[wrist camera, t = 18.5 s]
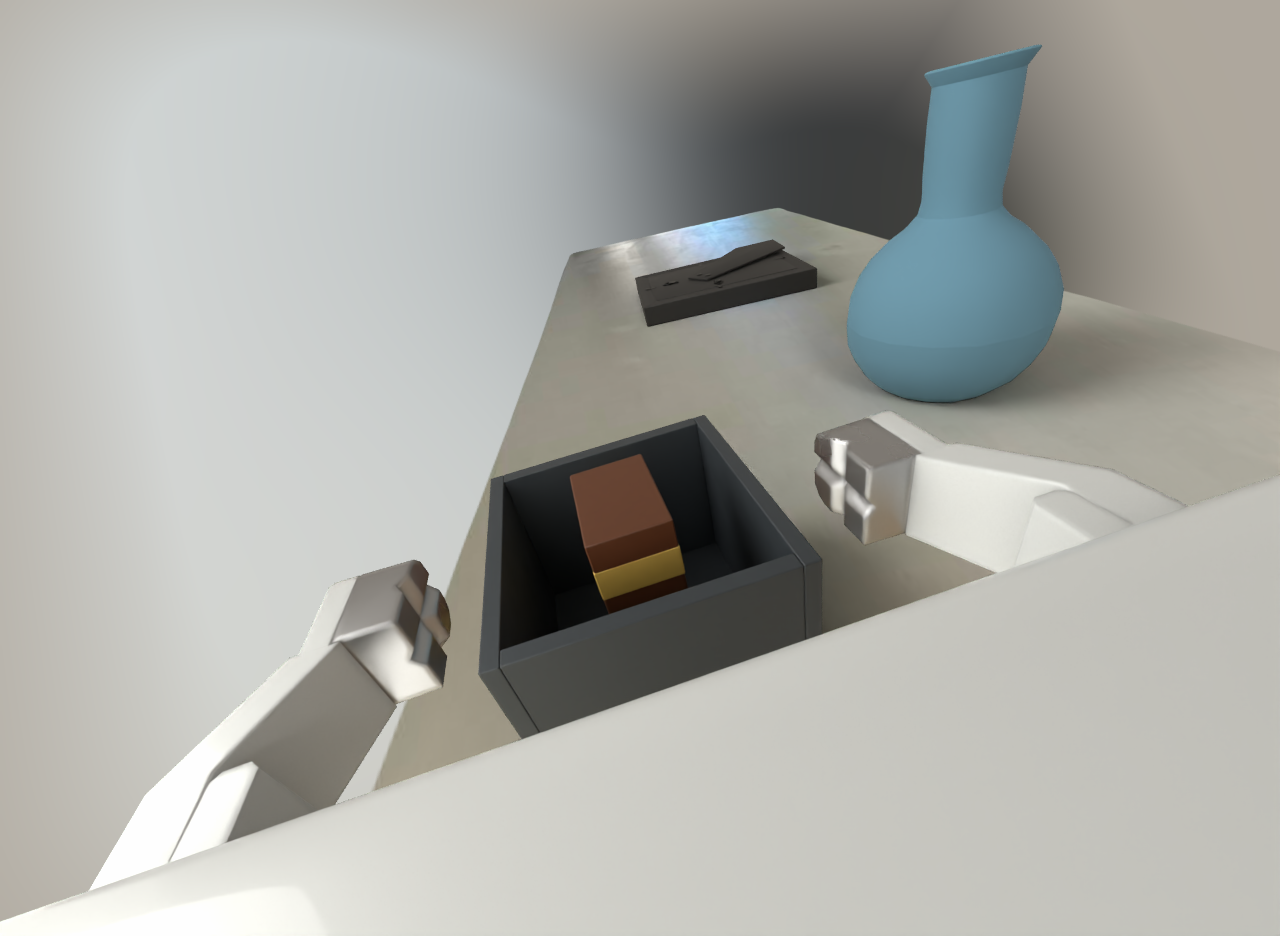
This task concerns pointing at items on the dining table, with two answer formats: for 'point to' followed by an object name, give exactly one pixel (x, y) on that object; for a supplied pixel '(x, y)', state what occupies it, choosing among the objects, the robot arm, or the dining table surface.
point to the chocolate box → (627, 534)
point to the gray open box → (655, 630)
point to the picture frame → (724, 282)
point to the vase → (959, 254)
